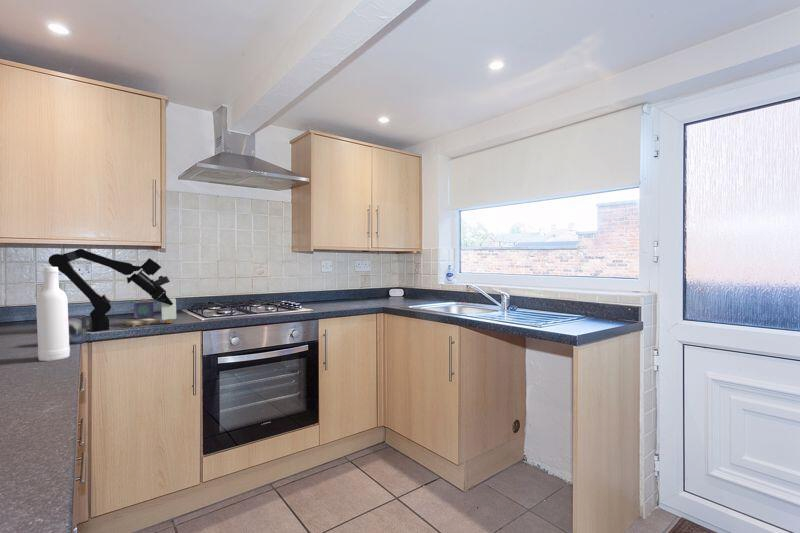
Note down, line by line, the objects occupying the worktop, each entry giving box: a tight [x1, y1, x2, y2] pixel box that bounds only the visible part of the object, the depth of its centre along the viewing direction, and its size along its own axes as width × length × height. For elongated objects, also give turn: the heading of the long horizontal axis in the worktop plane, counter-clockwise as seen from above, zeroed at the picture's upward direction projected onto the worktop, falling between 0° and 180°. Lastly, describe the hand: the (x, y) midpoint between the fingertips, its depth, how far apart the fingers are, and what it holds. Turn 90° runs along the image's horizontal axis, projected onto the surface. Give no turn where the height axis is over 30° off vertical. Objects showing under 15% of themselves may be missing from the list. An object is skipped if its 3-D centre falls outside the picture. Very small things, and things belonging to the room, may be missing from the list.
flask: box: [133, 297, 155, 319], centre depth 221 cm, size 9×3×11 cm, turn 109°
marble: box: [164, 319, 174, 324], centre depth 200 cm, size 3×3×3 cm
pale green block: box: [160, 297, 177, 321], centre depth 200 cm, size 6×6×10 cm
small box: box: [68, 314, 88, 346], centre depth 156 cm, size 11×6×10 cm, turn 114°
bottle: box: [35, 266, 71, 362], centre depth 133 cm, size 8×8×30 cm
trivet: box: [122, 318, 161, 327], centre depth 202 cm, size 12×12×1 cm
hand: (171, 303), depth 201 cm, fingers closed on pale green block, 6 cm apart
